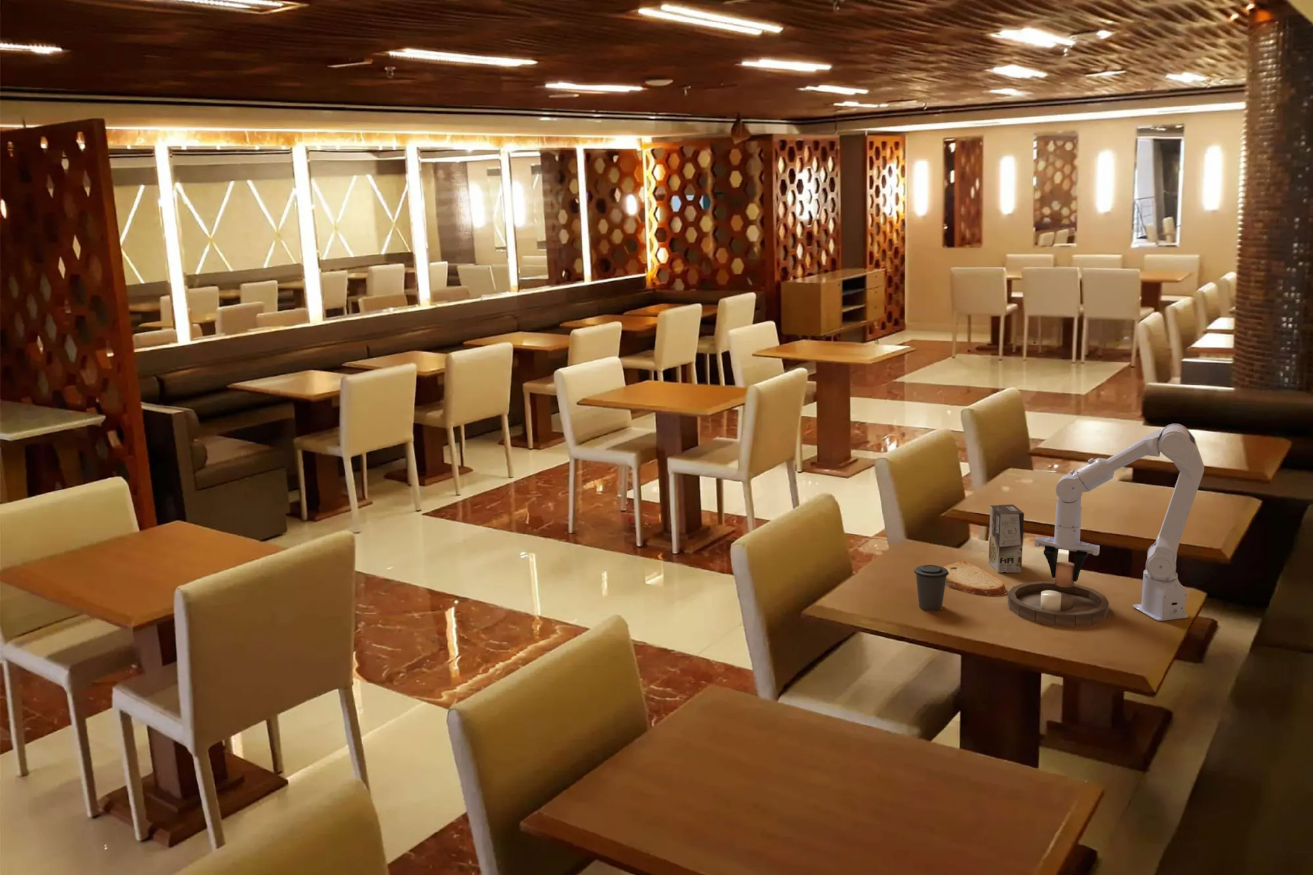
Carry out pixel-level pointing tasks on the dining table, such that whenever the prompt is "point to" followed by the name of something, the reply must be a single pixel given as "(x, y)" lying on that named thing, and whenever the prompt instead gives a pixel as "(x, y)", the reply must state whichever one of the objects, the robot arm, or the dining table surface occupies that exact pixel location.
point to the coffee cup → (931, 586)
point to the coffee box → (1006, 538)
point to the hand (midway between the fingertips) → (1064, 578)
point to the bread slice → (973, 580)
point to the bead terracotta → (1064, 574)
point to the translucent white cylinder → (1050, 600)
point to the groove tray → (1075, 604)
